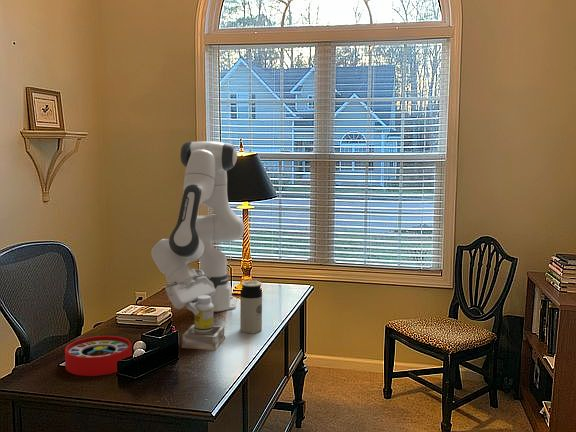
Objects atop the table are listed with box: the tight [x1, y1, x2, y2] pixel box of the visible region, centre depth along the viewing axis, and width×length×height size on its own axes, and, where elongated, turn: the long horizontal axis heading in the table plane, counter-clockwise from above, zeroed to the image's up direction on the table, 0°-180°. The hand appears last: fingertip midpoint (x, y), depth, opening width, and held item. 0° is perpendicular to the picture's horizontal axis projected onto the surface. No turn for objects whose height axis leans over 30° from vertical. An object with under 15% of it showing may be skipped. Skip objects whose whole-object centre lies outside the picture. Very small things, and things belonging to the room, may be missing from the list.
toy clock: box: [64, 335, 133, 377], centre depth 188 cm, size 20×6×20 cm
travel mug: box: [239, 280, 263, 334], centre depth 222 cm, size 8×8×18 cm
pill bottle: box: [194, 295, 214, 332], centre depth 207 cm, size 6×6×12 cm
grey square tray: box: [181, 323, 226, 351], centre depth 208 cm, size 12×12×4 cm
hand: (205, 311), depth 207 cm, fingers closed on pill bottle, 6 cm apart
